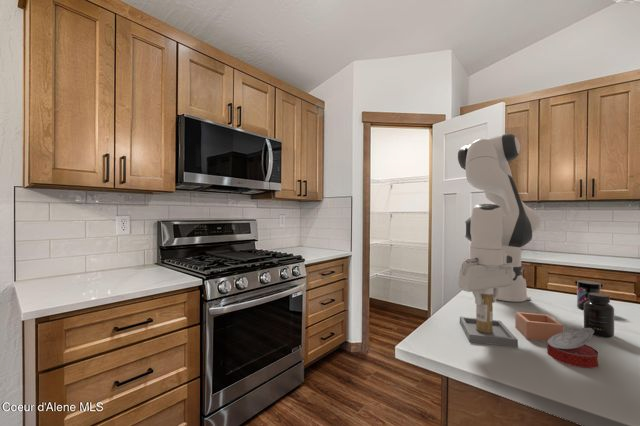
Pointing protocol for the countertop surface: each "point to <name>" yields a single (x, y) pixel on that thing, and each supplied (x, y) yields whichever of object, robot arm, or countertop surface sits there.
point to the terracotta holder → (537, 326)
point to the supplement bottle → (599, 315)
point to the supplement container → (586, 291)
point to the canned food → (573, 348)
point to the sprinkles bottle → (485, 312)
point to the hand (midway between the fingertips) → (485, 303)
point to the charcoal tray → (496, 337)
